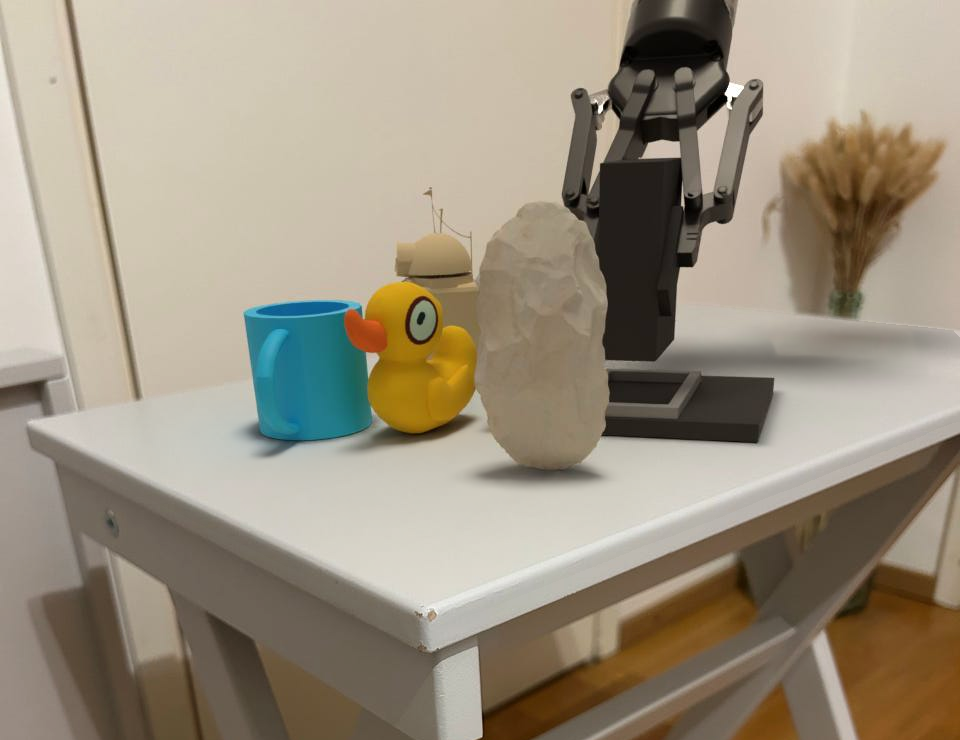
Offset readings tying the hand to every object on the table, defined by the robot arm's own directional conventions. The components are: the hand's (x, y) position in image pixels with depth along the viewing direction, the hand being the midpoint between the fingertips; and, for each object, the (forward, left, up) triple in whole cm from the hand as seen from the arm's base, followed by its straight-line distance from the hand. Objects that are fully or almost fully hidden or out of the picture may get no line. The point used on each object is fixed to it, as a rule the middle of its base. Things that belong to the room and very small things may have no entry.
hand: (628, 302), depth 65 cm
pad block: (0, -4, -4) cm, 5 cm away
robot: (+19, -13, -8) cm, 24 cm away
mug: (+22, +5, -8) cm, 24 cm away
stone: (+3, +10, -9) cm, 14 cm away
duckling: (+14, +3, -8) cm, 17 cm away
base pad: (0, -5, -8) cm, 10 cm away
